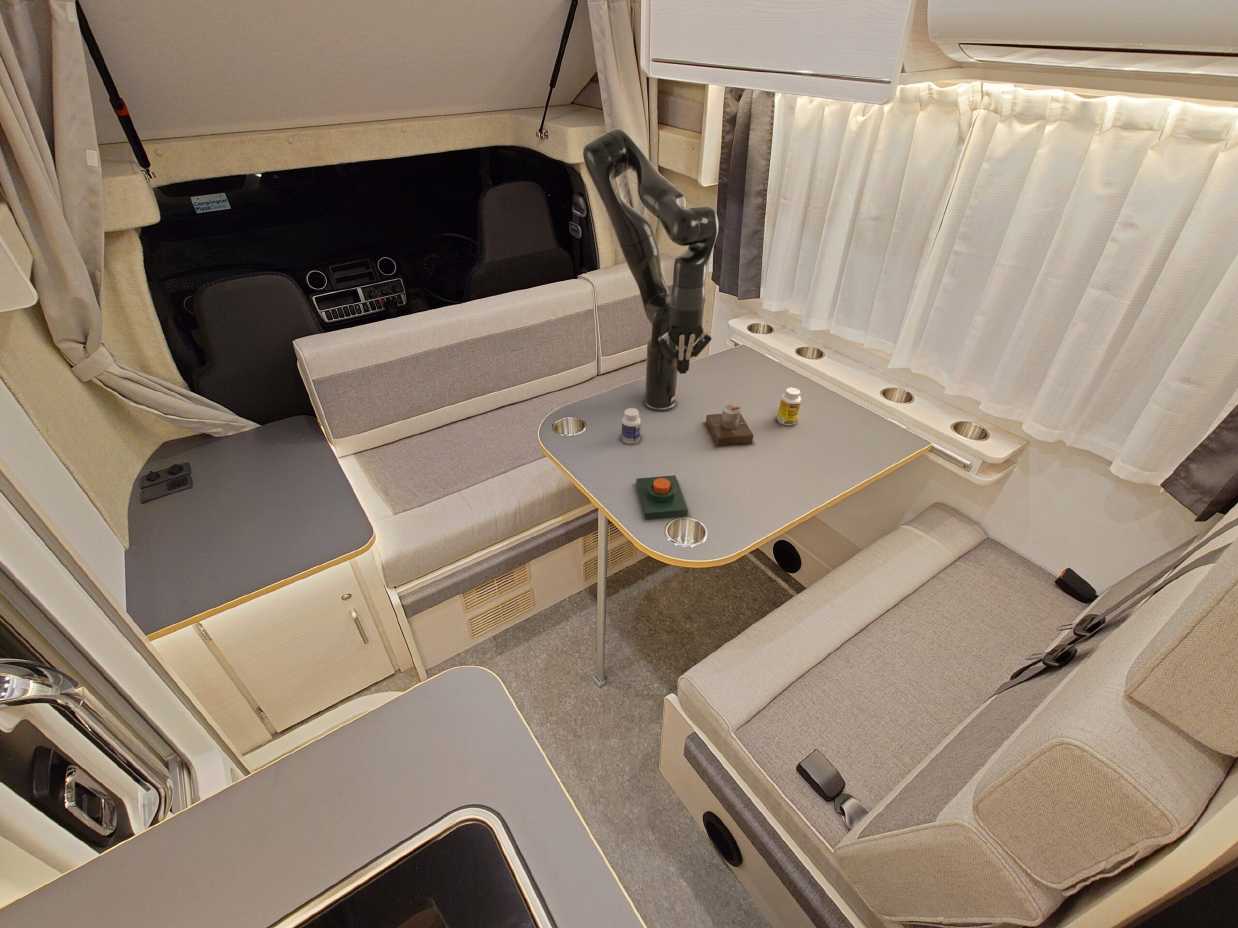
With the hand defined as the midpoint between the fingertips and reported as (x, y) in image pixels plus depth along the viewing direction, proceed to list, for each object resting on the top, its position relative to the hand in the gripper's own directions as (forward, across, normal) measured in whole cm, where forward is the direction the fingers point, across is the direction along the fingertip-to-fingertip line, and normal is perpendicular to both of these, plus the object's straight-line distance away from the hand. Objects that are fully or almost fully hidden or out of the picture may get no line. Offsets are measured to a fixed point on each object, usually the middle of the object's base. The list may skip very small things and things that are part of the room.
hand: (681, 372), depth 136 cm
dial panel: (+25, -18, -8) cm, 31 cm away
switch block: (+25, +8, +18) cm, 32 cm away
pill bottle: (+25, +10, -9) cm, 29 cm away
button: (+21, +8, +18) cm, 29 cm away
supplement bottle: (+25, -36, -11) cm, 46 cm away
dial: (+22, -18, -8) cm, 29 cm away
